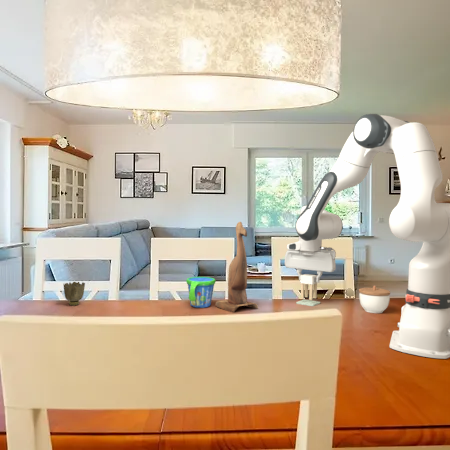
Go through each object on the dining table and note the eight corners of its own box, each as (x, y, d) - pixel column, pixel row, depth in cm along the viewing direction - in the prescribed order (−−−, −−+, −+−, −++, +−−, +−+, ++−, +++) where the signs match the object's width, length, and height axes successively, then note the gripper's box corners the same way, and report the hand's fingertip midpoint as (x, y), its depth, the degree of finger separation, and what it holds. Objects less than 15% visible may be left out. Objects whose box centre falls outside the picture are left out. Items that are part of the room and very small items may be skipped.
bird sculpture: (235, 314, 148) (240, 222, 146) (214, 307, 156) (218, 220, 155) (258, 310, 155) (262, 222, 153) (236, 303, 164) (240, 220, 162)
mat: (312, 306, 161) (313, 304, 161) (296, 303, 165) (296, 302, 165) (320, 303, 167) (320, 301, 167) (304, 300, 171) (304, 299, 171)
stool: (317, 298, 166) (317, 275, 166) (311, 300, 162) (312, 276, 162) (305, 296, 169) (306, 273, 169) (299, 298, 165) (300, 275, 165)
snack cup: (202, 312, 149) (202, 283, 148) (176, 308, 153) (177, 280, 153) (222, 303, 162) (223, 277, 162) (198, 300, 167) (199, 274, 167)
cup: (58, 305, 154) (58, 283, 153) (73, 301, 160) (73, 280, 160) (75, 308, 151) (75, 285, 150) (89, 304, 158) (89, 282, 157)
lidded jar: (392, 315, 149) (392, 289, 148) (360, 313, 151) (360, 287, 151) (386, 308, 159) (387, 284, 159) (357, 307, 161) (357, 282, 161)
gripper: (338, 247, 162) (337, 283, 162) (290, 244, 174) (289, 277, 174) (332, 248, 156) (331, 285, 157) (283, 244, 168) (282, 279, 169)
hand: (309, 281), depth 166 cm, fingers closed on stool, 5 cm apart
